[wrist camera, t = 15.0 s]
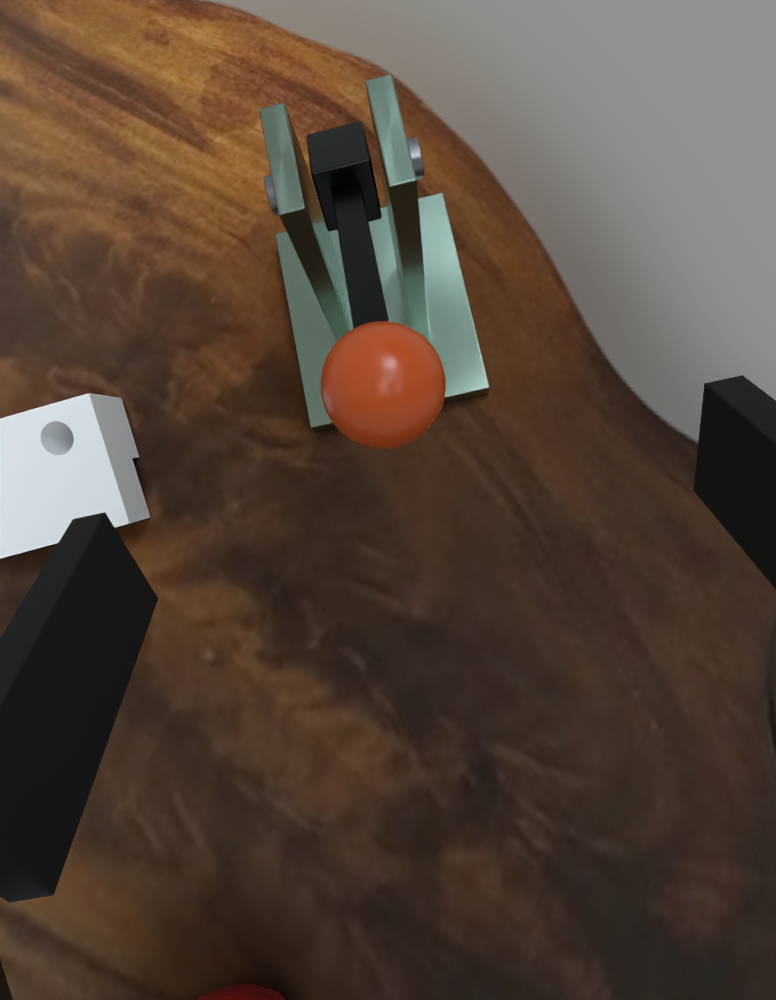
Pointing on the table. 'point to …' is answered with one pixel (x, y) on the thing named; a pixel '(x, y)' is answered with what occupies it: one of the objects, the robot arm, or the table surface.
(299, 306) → the clamp
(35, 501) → the bracket
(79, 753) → the robot arm
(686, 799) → the table surface
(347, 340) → the clamp lever
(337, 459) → the table surface
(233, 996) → the apple
